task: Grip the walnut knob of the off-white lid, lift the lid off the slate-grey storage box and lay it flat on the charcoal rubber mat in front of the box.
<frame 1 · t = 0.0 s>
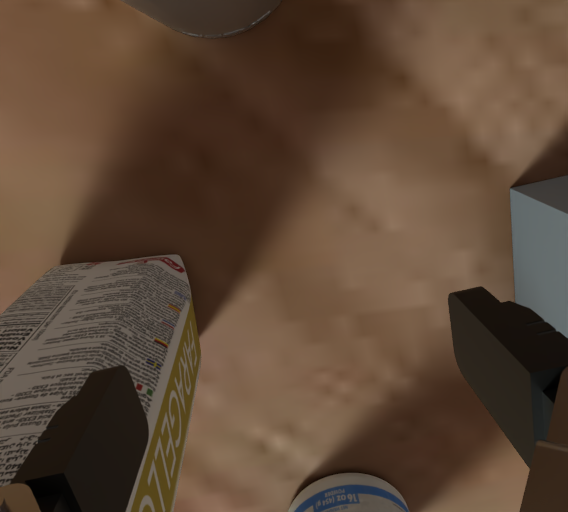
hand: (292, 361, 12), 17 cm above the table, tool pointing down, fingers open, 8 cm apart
juice carton: (130, 303, 30), on the table
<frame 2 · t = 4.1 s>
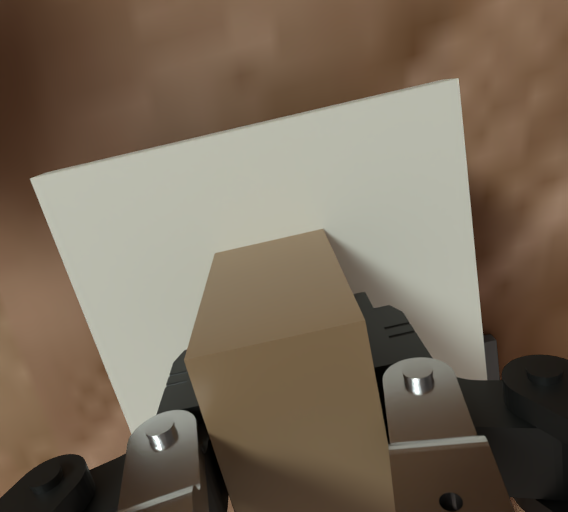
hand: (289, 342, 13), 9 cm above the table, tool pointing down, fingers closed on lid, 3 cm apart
lid: (286, 307, 15), point 7 cm above the table, touching gripper, storage box
rubber mat: (372, 475, 26), on the table
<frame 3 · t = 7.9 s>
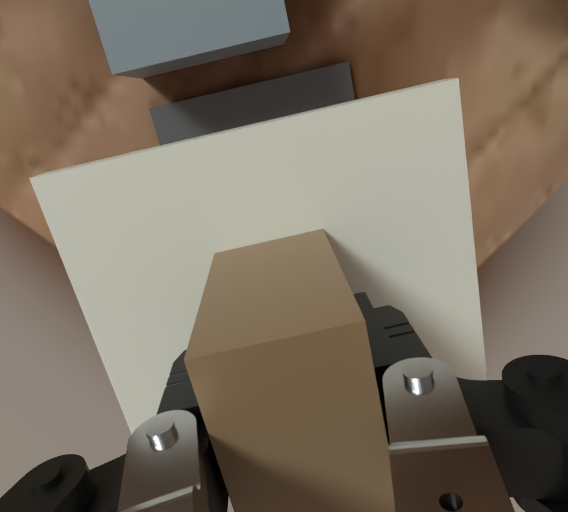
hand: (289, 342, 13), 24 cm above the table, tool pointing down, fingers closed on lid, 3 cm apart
lid: (286, 307, 15), point 22 cm above the table, touching gripper
rubber mat: (271, 182, 36), on the table
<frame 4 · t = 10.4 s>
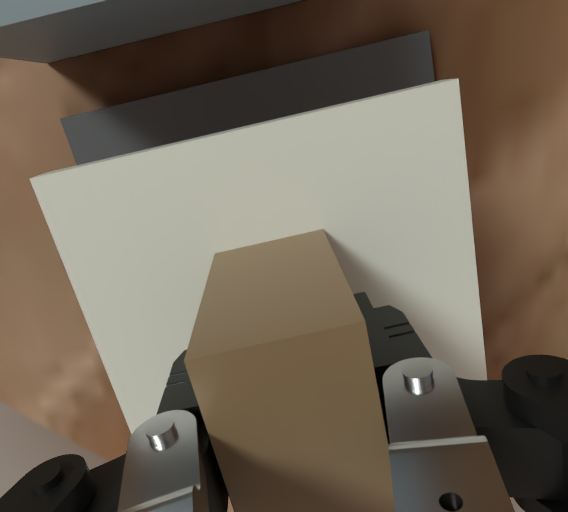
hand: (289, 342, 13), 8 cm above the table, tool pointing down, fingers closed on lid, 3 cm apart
lid: (286, 307, 15), point 6 cm above the table, touching gripper
rubber mat: (283, 245, 21), on the table
when the fingers open (4 cm above the table, at t = 12.1 s): lid drops 2 cm, resting on rubber mat.
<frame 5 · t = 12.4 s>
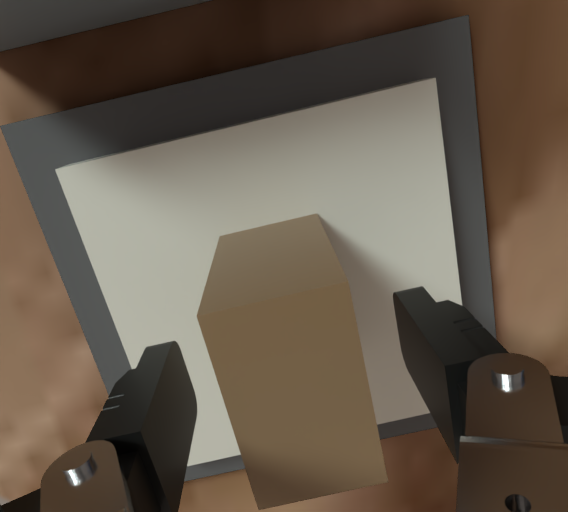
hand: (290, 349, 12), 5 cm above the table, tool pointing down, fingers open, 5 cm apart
lid: (284, 286, 16), point 1 cm above the table, touching rubber mat
rubber mat: (282, 281, 17), on the table
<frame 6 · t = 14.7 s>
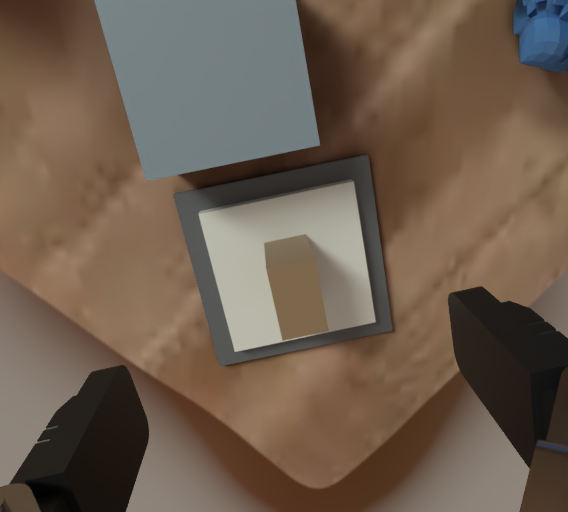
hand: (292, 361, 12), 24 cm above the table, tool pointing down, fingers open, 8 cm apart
lid: (290, 266, 36), point 1 cm above the table, touching rubber mat
grapes: (511, 33, 33), on the table
rubber mat: (289, 264, 36), on the table
storage box: (220, 76, 32), on the table
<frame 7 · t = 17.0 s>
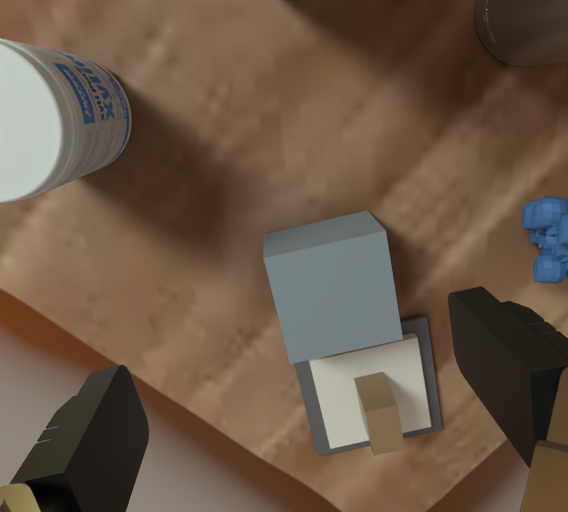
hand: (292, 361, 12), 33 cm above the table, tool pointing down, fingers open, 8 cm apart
lid: (370, 389, 50), point 1 cm above the table, touching rubber mat
grapes: (528, 234, 46), on the table
supplement tub: (77, 114, 41), on the table
rubber mat: (368, 386, 51), on the table
storage box: (325, 270, 47), on the table
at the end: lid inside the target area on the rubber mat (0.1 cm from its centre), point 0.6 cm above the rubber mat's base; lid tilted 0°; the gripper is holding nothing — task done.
